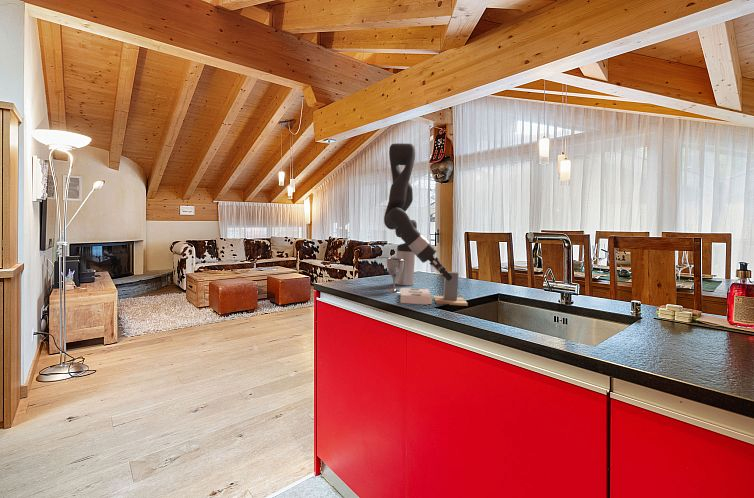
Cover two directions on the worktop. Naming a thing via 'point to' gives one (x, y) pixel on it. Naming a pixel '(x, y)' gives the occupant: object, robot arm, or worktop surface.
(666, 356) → the worktop surface
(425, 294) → the pinkish tan rectangular slab
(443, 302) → the rest pad
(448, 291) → the grey rectangular block
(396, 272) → the wine glass
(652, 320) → the worktop surface
